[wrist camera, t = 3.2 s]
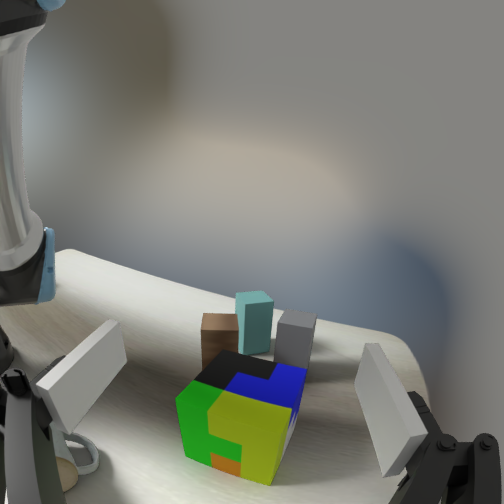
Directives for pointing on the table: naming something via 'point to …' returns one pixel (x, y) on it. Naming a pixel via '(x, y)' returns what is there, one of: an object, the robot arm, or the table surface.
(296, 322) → the grey block
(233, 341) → the walnut block
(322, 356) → the table surface
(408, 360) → the table surface
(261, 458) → the puzzle toy
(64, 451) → the ceramic mug
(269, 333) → the teal block
